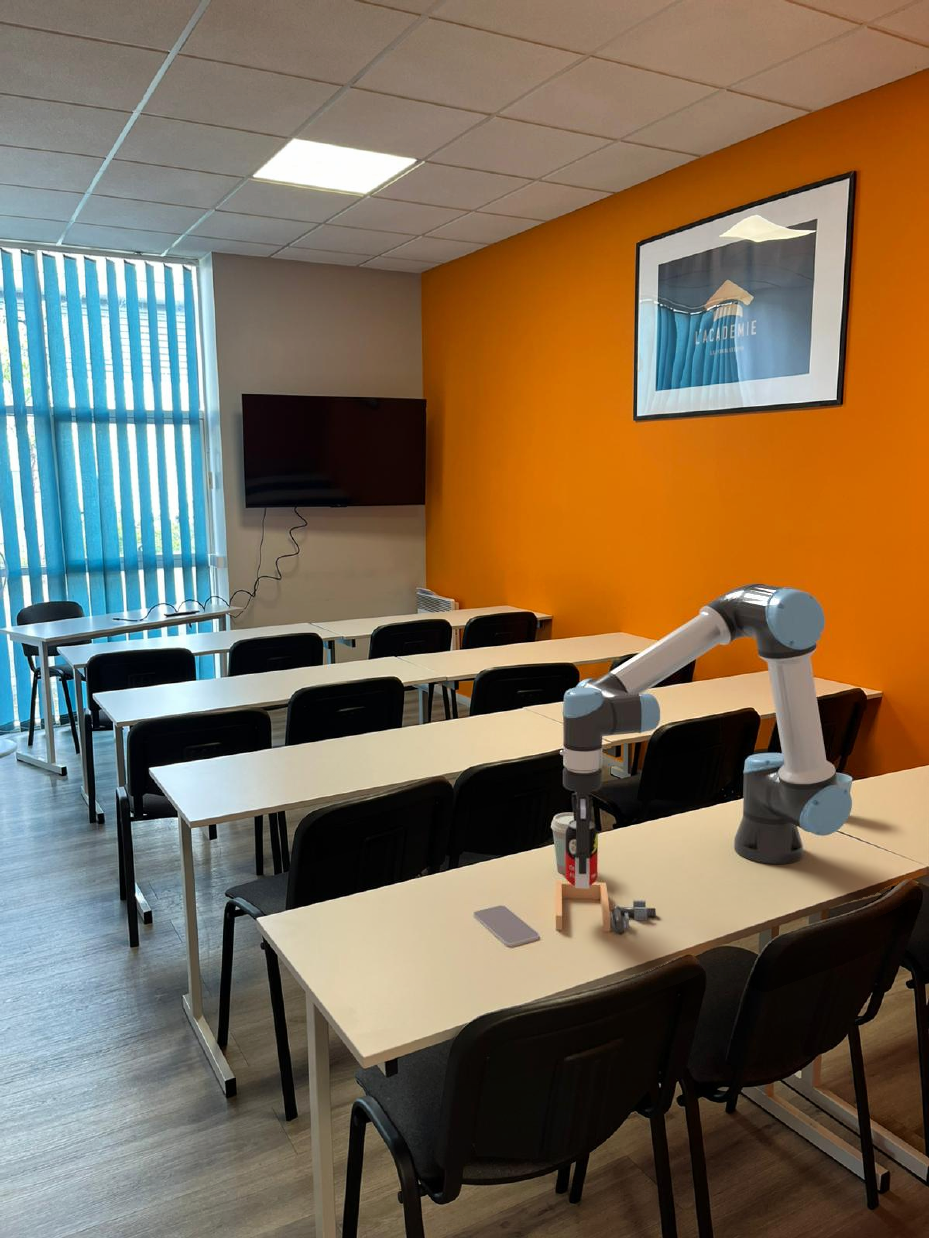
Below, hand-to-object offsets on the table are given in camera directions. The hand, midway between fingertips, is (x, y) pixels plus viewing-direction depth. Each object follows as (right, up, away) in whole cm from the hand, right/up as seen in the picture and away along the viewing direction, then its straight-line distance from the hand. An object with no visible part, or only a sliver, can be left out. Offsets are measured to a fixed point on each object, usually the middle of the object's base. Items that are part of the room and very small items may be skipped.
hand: (581, 879), depth 178 cm
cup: (+72, +1, +53) cm, 89 cm away
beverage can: (0, -1, 0) cm, 1 cm away
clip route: (+10, -8, -2) cm, 13 cm away
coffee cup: (0, -5, +23) cm, 24 cm away
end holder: (0, -7, +3) cm, 8 cm away
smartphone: (-15, -9, -2) cm, 18 cm away
